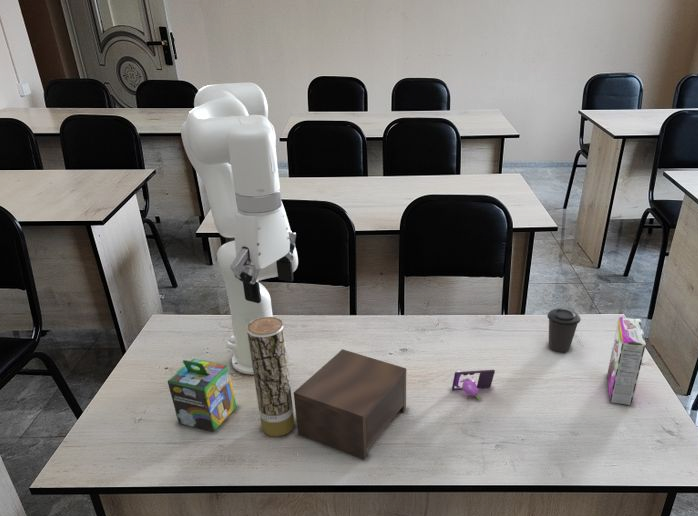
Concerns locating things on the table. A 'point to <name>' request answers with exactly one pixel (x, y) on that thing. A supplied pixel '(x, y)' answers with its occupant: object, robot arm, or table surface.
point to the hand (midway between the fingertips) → (270, 290)
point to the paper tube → (271, 375)
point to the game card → (469, 384)
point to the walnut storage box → (350, 402)
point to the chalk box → (202, 394)
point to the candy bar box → (625, 360)
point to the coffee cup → (562, 329)
